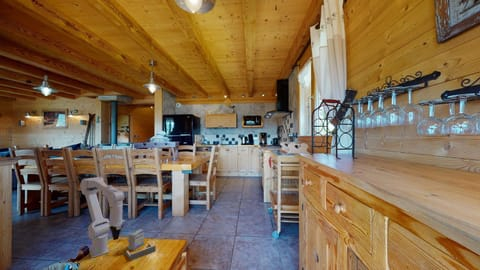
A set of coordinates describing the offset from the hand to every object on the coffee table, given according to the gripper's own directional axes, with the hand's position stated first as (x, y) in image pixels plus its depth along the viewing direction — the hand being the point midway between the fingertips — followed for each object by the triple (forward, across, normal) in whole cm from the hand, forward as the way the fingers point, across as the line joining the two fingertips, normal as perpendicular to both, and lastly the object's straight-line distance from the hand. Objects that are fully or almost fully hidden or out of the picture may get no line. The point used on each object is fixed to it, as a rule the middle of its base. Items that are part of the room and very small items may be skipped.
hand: (115, 239), depth 101 cm
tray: (+11, -3, -12) cm, 16 cm away
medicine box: (+11, +6, -12) cm, 17 cm away
